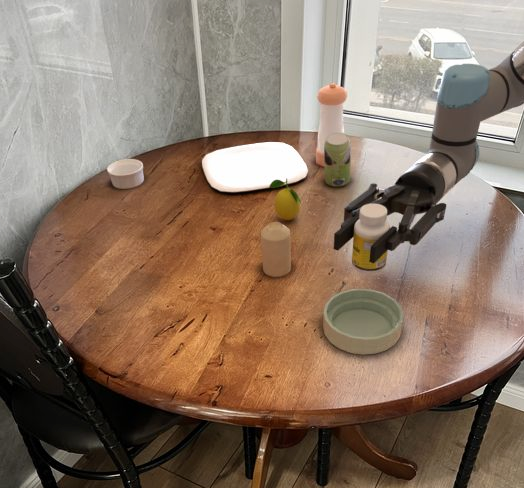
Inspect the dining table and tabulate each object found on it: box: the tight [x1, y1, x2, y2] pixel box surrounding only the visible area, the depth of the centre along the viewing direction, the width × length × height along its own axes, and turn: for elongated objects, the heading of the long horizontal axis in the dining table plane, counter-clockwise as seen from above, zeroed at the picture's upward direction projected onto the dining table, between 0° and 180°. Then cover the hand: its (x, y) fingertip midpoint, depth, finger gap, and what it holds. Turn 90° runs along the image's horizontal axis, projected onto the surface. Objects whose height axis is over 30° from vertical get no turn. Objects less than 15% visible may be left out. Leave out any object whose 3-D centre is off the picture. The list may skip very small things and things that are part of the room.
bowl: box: [322, 288, 405, 355], centre depth 91 cm, size 13×13×4 cm
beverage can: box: [324, 132, 352, 188], centre depth 126 cm, size 6×7×12 cm
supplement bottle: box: [351, 204, 391, 275], centre depth 83 cm, size 5×5×10 cm
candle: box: [260, 221, 292, 278], centre depth 103 cm, size 6×6×10 cm
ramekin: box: [106, 158, 145, 190], centre depth 135 cm, size 9×9×4 cm
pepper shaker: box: [315, 82, 348, 168], centre depth 133 cm, size 7×7×19 cm
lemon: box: [268, 178, 302, 221], centre depth 116 cm, size 7×6×10 cm
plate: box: [201, 141, 309, 194], centre depth 138 cm, size 25×25×2 cm
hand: (354, 248), depth 79 cm, fingers closed on supplement bottle, 5 cm apart
